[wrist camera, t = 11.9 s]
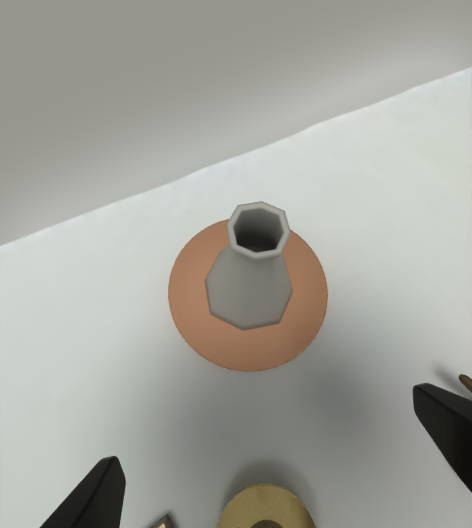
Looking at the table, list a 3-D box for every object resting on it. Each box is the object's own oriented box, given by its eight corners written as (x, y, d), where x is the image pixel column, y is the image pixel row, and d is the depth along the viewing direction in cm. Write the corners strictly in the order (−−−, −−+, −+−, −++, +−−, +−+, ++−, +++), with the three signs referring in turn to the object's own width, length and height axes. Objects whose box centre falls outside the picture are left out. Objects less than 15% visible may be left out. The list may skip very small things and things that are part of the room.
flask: (196, 324, 22) (170, 289, 13) (211, 241, 25) (198, 161, 16) (289, 337, 22) (331, 310, 13) (294, 251, 25) (332, 176, 15)
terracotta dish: (340, 250, 26) (344, 245, 25) (298, 398, 21) (301, 399, 20) (207, 204, 27) (206, 198, 26) (143, 334, 23) (139, 332, 22)
